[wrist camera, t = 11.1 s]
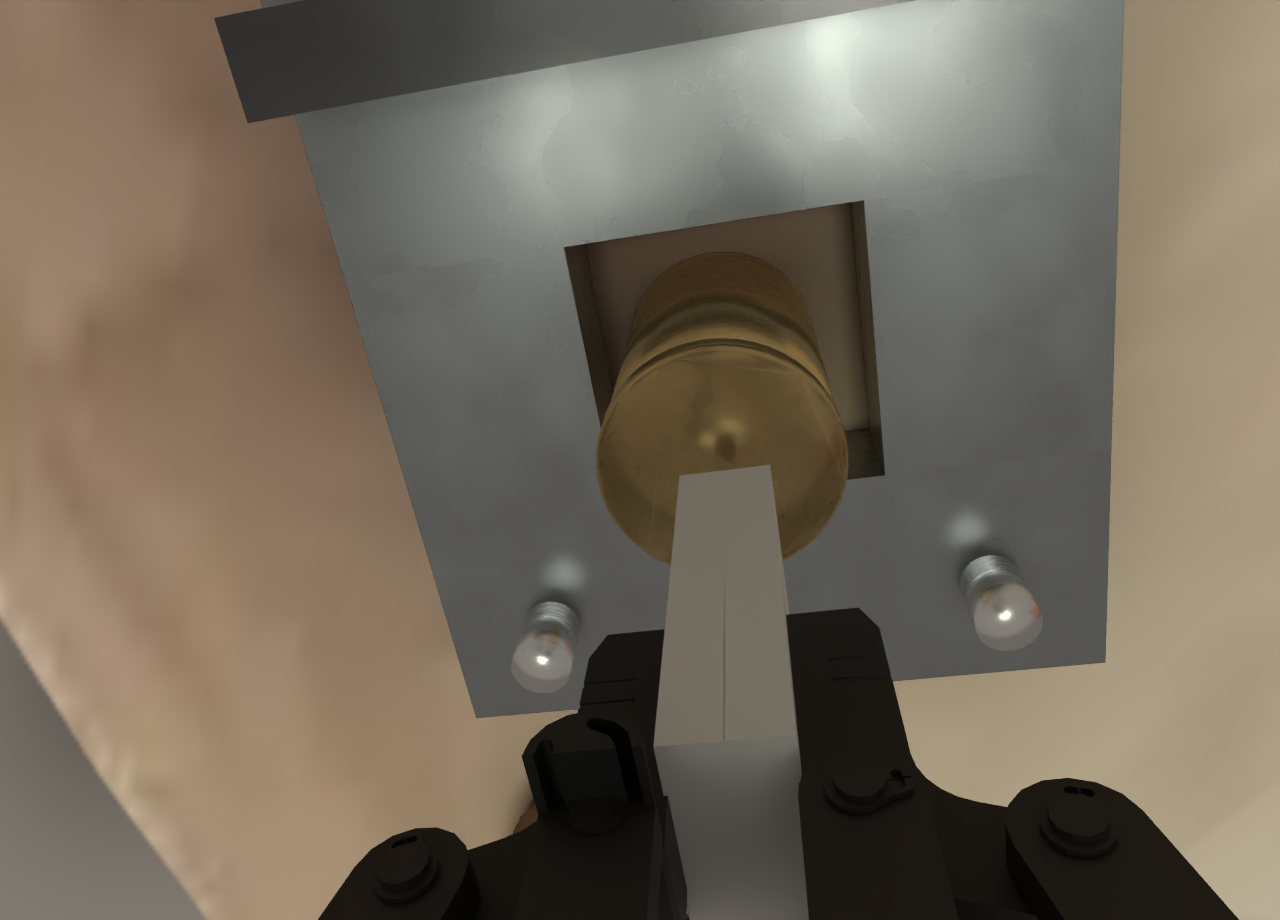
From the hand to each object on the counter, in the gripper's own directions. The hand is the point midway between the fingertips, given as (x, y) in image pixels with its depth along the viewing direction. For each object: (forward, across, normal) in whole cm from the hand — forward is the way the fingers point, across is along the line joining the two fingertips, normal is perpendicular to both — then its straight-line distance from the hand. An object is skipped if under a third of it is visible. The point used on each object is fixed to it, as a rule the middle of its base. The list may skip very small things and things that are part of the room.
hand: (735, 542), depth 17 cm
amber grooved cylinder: (+12, 0, 0) cm, 12 cm away
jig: (+12, 0, 0) cm, 12 cm away
